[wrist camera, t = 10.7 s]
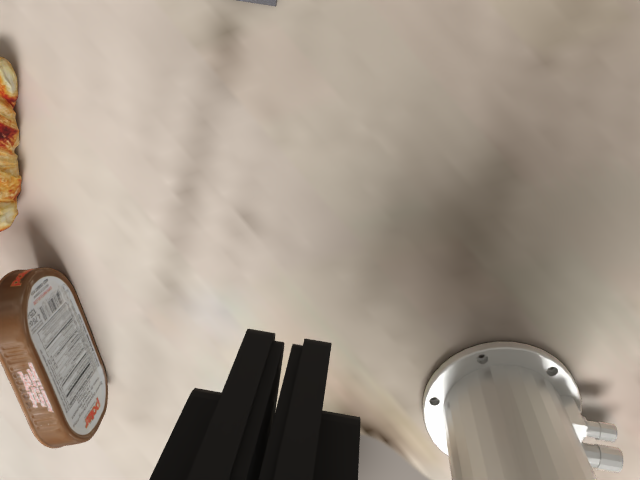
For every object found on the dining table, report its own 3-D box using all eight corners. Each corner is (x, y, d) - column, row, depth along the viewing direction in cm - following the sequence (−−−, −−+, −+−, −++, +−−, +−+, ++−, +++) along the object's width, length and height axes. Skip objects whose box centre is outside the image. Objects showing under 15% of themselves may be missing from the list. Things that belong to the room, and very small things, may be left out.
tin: (32, 253, 47) (-37, 303, 39) (67, 247, 46) (4, 298, 39) (92, 402, 52) (43, 472, 45) (124, 399, 52) (80, 469, 44)
